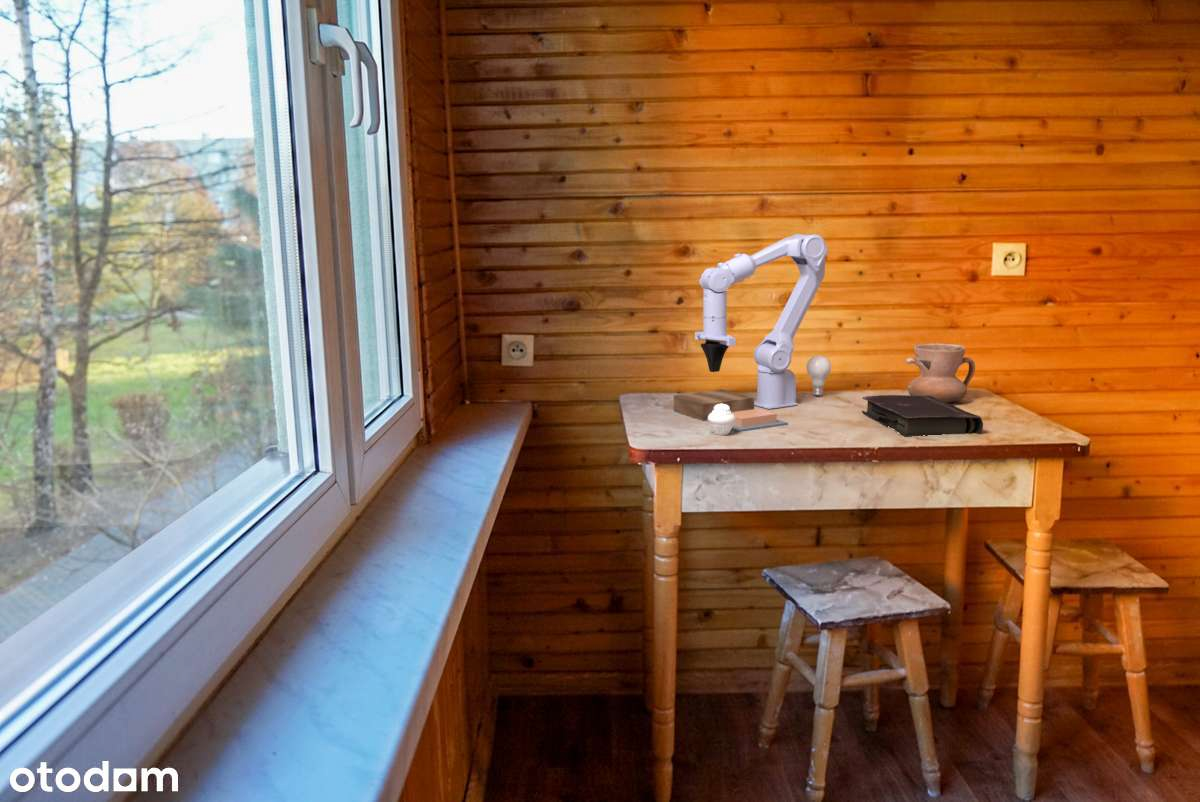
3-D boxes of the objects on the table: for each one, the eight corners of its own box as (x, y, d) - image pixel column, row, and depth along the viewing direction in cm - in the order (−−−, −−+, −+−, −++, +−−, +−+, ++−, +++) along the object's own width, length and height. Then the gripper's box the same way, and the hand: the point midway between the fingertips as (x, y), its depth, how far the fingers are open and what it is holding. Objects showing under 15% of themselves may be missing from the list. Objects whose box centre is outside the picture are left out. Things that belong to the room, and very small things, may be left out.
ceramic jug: (912, 407, 234) (915, 350, 232) (895, 396, 249) (897, 342, 246) (984, 406, 234) (988, 350, 231) (963, 395, 248) (966, 342, 246)
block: (776, 413, 217) (776, 422, 217) (757, 408, 223) (757, 416, 224) (741, 418, 212) (741, 427, 213) (723, 413, 219) (723, 421, 219)
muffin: (738, 432, 210) (739, 401, 209) (730, 438, 205) (730, 406, 203) (712, 429, 213) (713, 399, 212) (703, 435, 207) (703, 404, 206)
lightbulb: (802, 394, 252) (804, 353, 250) (826, 393, 253) (827, 353, 251) (809, 398, 246) (810, 357, 244) (833, 398, 247) (834, 356, 244)
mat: (753, 414, 228) (753, 412, 228) (788, 424, 217) (788, 422, 217) (706, 420, 222) (706, 419, 222) (738, 431, 210) (739, 429, 210)
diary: (931, 414, 230) (933, 393, 229) (982, 437, 205) (984, 415, 204) (858, 415, 228) (859, 395, 227) (900, 439, 204) (902, 416, 203)
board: (722, 404, 240) (723, 389, 239) (754, 413, 229) (754, 397, 228) (673, 411, 233) (673, 395, 232) (703, 420, 222) (703, 404, 221)
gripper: (684, 315, 235) (684, 368, 237) (718, 320, 222) (718, 377, 225) (708, 313, 238) (707, 366, 241) (742, 318, 225) (742, 374, 228)
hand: (714, 371), depth 233 cm, fingers closed
